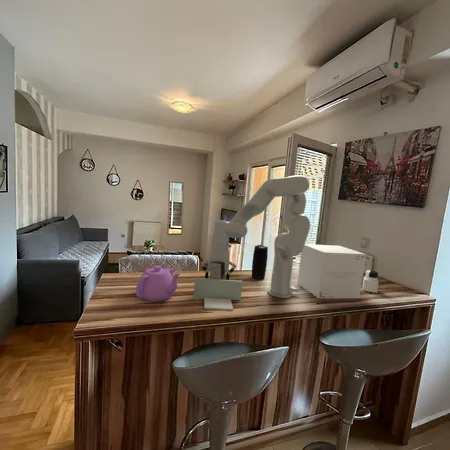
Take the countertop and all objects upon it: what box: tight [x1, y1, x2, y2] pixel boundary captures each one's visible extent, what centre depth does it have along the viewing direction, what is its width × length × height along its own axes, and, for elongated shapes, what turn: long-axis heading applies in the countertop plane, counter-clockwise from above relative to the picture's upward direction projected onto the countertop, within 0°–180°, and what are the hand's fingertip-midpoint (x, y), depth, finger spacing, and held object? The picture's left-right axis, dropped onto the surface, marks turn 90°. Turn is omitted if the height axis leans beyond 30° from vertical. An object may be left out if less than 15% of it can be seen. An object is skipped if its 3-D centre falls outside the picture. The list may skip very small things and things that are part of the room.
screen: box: [192, 277, 244, 301], centre depth 122 cm, size 22×1×9 cm, turn 95°
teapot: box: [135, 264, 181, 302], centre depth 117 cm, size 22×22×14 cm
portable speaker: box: [251, 244, 269, 281], centre depth 160 cm, size 9×9×20 cm
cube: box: [296, 243, 367, 299], centre depth 147 cm, size 25×21×24 cm
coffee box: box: [208, 262, 227, 280], centre depth 129 cm, size 9×6×16 cm
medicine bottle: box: [361, 269, 379, 294], centre depth 154 cm, size 7×7×12 cm
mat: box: [203, 298, 234, 311], centre depth 116 cm, size 12×10×1 cm
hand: (216, 280), depth 129 cm, fingers open, 9 cm apart
